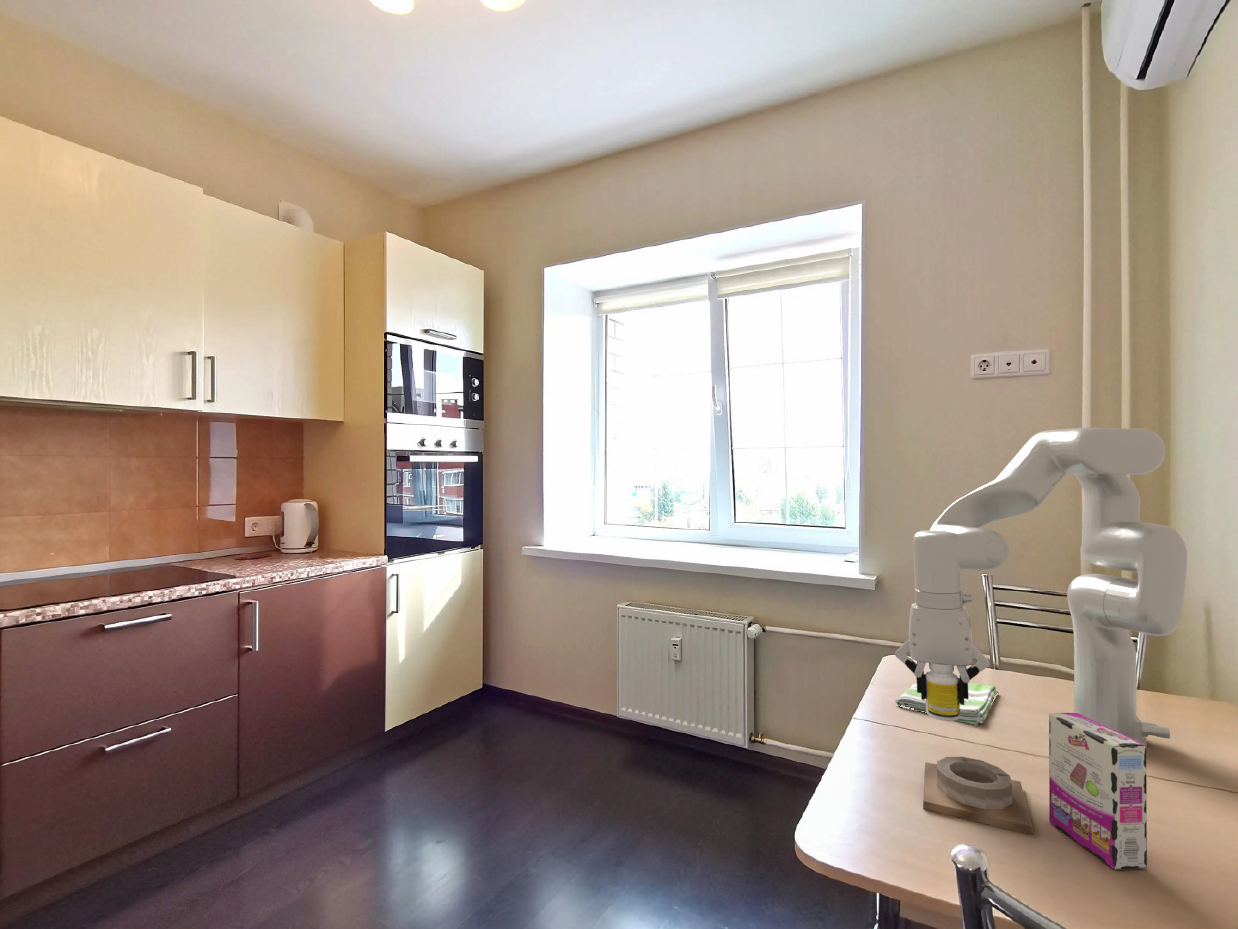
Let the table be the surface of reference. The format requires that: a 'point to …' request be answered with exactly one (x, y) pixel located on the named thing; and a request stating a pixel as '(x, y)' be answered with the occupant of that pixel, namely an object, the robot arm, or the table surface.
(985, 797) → the hub block
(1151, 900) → the table surface
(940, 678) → the supplement bottle
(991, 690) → the dish towel
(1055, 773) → the candy bar box
